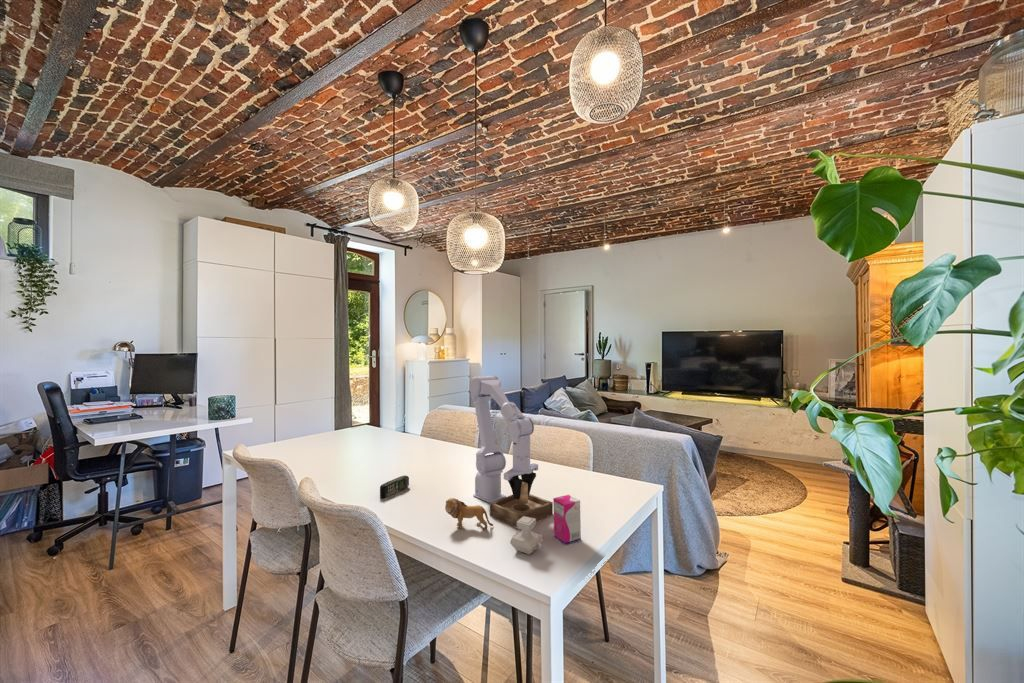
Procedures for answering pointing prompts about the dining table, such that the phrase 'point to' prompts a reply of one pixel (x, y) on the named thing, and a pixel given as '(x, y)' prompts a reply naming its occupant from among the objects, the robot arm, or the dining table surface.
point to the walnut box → (520, 509)
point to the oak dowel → (523, 494)
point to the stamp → (526, 536)
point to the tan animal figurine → (466, 512)
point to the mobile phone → (394, 486)
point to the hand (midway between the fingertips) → (521, 496)
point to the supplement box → (567, 519)
